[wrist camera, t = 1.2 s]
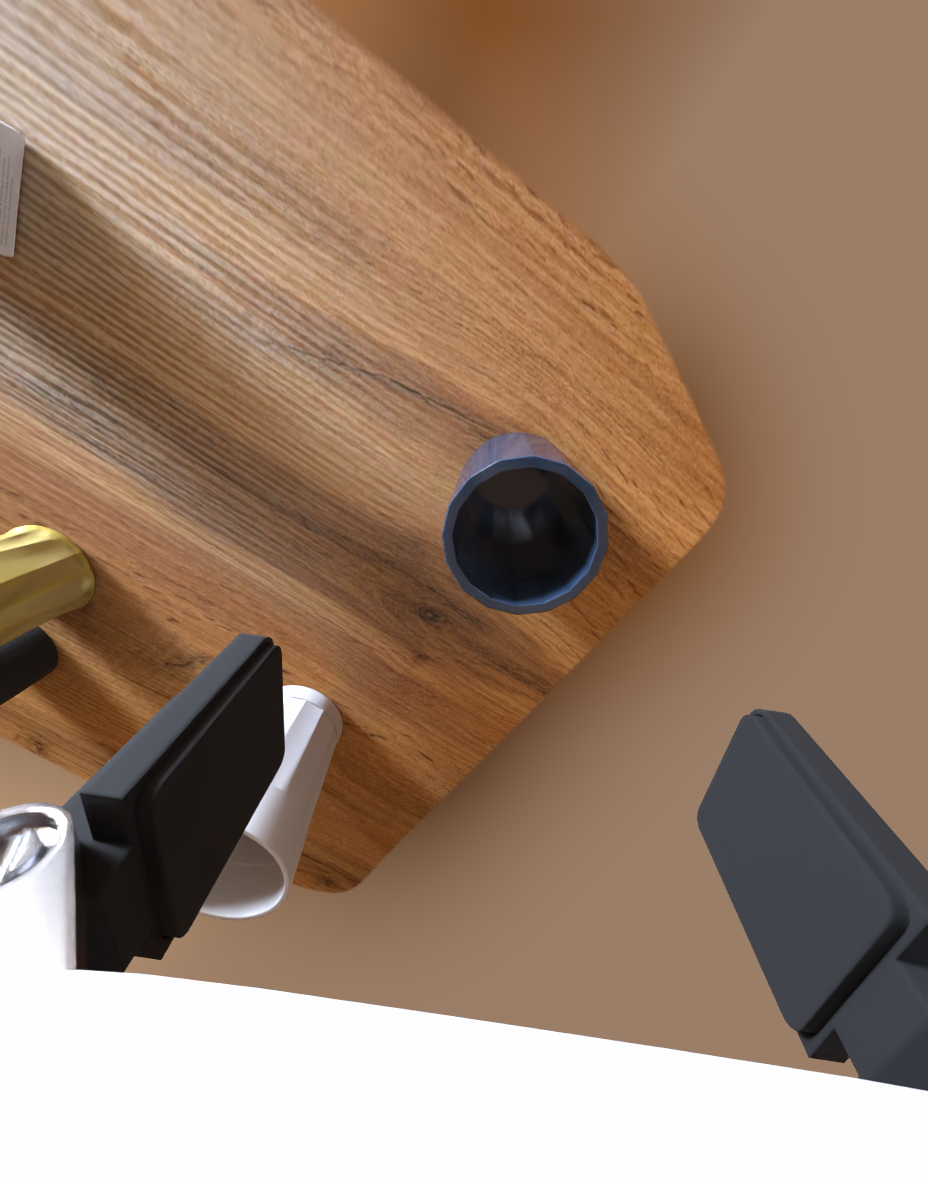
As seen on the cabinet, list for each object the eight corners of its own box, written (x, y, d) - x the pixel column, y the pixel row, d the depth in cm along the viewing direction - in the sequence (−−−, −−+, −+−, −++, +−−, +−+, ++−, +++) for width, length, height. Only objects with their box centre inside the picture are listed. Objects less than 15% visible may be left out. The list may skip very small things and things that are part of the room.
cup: (299, 775, 38) (218, 936, 27) (226, 707, 35) (105, 853, 24) (375, 733, 36) (321, 891, 25) (303, 657, 33) (208, 794, 22)
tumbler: (541, 408, 26) (562, 422, 17) (593, 513, 28) (634, 569, 20) (436, 471, 27) (411, 511, 19) (494, 566, 29) (493, 638, 21)
